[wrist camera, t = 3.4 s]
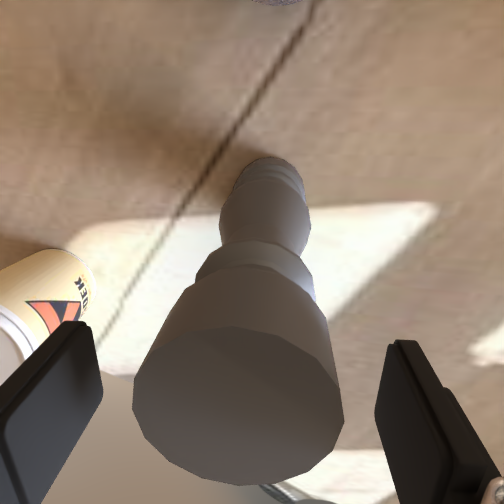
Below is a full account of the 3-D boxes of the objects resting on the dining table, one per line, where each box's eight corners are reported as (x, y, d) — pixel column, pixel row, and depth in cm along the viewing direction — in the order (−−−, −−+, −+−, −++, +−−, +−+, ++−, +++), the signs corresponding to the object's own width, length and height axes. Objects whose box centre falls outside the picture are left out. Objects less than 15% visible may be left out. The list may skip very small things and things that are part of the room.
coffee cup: (99, 327, 40) (30, 414, 29) (18, 304, 40) (-84, 383, 29) (109, 255, 36) (33, 324, 25) (19, 229, 36) (-97, 287, 25)
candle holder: (286, 233, 34) (293, 515, 11) (226, 208, 33) (100, 449, 10) (315, 173, 31) (402, 373, 8) (250, 145, 31) (156, 278, 8)
